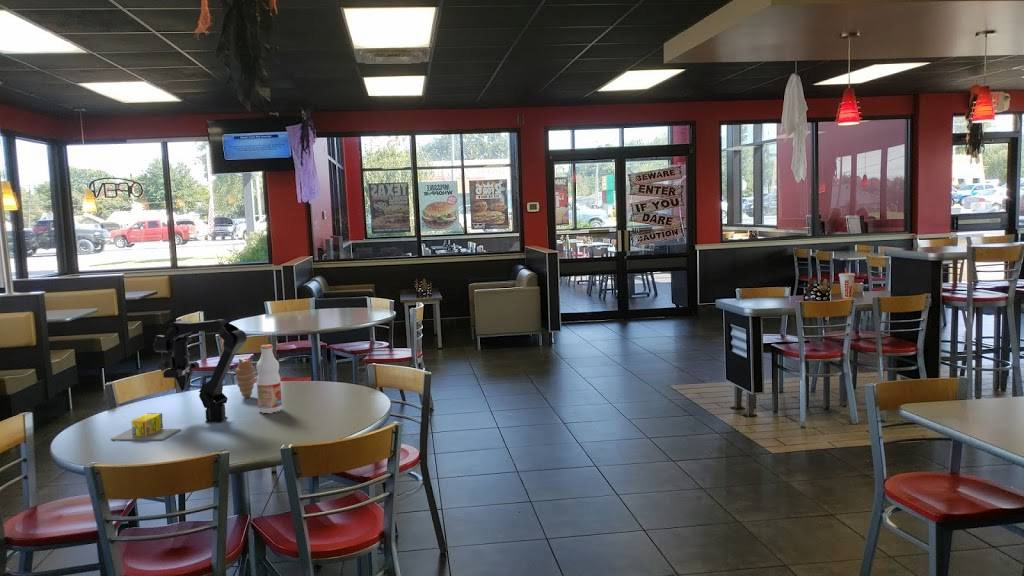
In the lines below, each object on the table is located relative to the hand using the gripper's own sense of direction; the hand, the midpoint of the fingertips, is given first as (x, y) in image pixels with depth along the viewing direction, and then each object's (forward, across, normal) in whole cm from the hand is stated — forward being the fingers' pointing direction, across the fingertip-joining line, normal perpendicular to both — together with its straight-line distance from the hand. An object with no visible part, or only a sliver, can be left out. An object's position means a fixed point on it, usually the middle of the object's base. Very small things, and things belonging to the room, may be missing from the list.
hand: (183, 390), depth 307 cm
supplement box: (+8, +14, -4) cm, 17 cm away
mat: (+12, +22, -4) cm, 25 cm away
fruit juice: (+12, -12, +31) cm, 35 cm away
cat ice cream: (+12, -35, +11) cm, 39 cm away
